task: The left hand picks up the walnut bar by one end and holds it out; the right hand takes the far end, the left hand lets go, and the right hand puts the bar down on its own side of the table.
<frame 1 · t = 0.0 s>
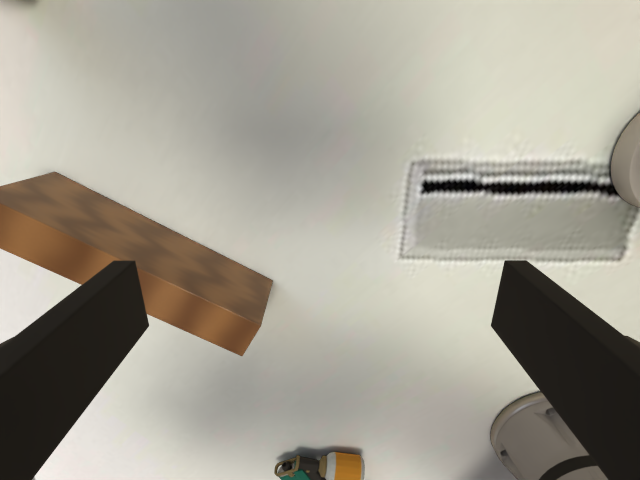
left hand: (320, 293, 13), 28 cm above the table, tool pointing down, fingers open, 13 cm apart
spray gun: (330, 477, 57), on the table
bar: (163, 244, 42), on the table
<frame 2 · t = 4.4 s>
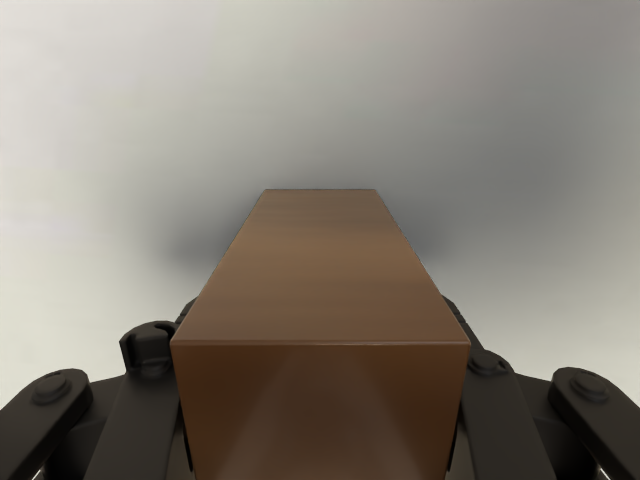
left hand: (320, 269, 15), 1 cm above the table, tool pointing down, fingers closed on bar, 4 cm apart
bar: (320, 437, 19), on the table, touching left hand
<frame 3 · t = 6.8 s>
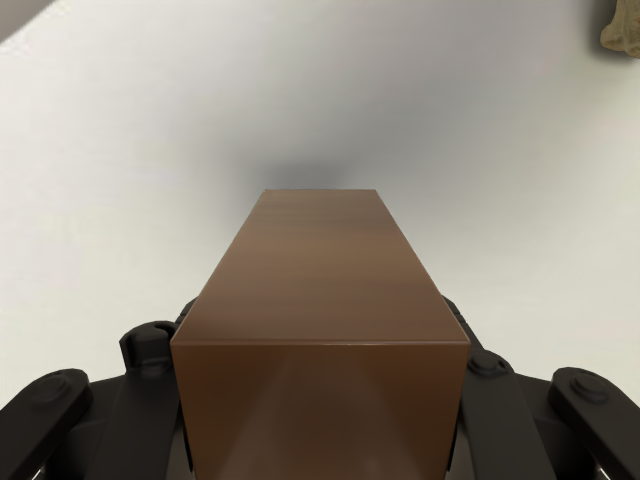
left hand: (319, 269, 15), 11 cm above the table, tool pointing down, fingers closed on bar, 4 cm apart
bar: (320, 437, 19), point 11 cm above the table, touching left hand
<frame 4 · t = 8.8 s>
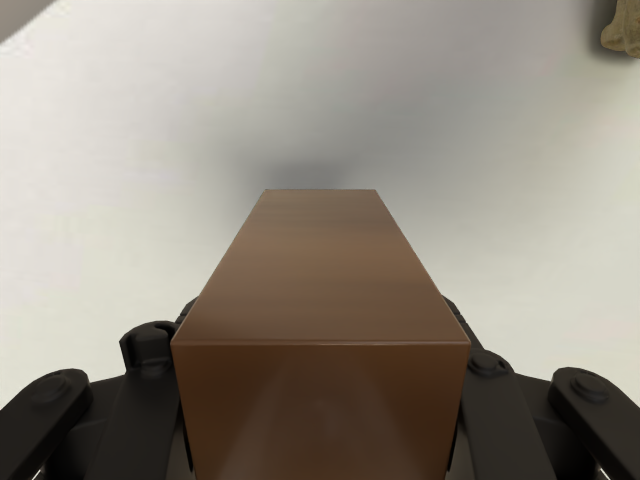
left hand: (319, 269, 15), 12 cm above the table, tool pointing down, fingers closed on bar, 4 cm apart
bar: (319, 436, 19), point 11 cm above the table, touching left hand, right hand
when the left hand's fingers open (12 cm above the table, at t = 9.5 s): bar stays where it is, held by the right hand.
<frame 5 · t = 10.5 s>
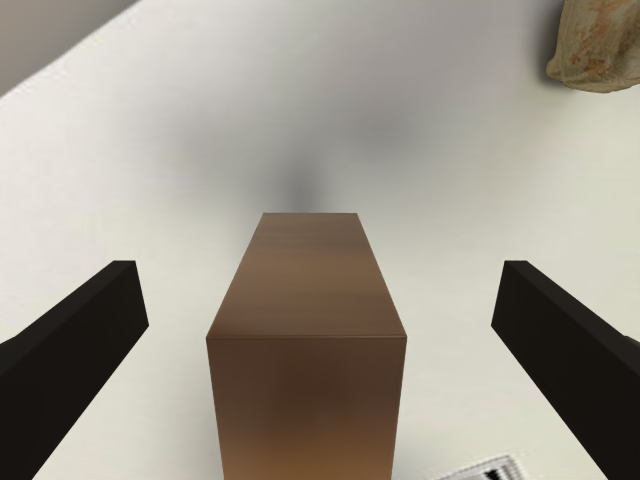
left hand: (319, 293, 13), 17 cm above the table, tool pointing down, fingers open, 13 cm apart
sculpture: (575, 38, 25), on the table
bar: (310, 427, 21), point 13 cm above the table, touching right hand
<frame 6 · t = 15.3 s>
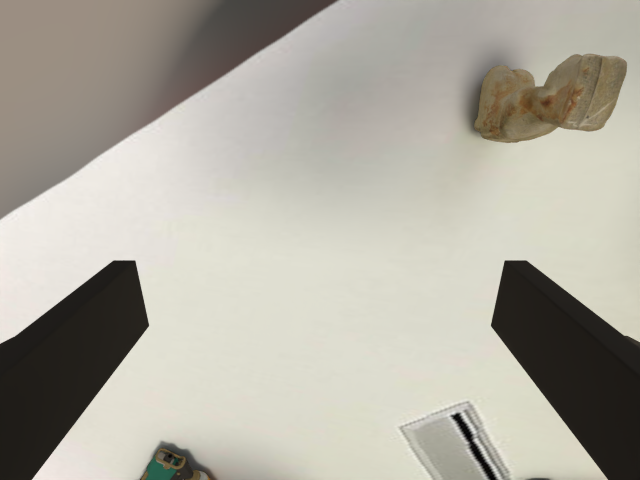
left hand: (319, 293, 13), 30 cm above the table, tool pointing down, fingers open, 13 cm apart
sculpture: (493, 104, 38), on the table
when the right hand's fingers open (2 cm above the table, at t = 22.1 s): bar drops 1 cm, on the table.
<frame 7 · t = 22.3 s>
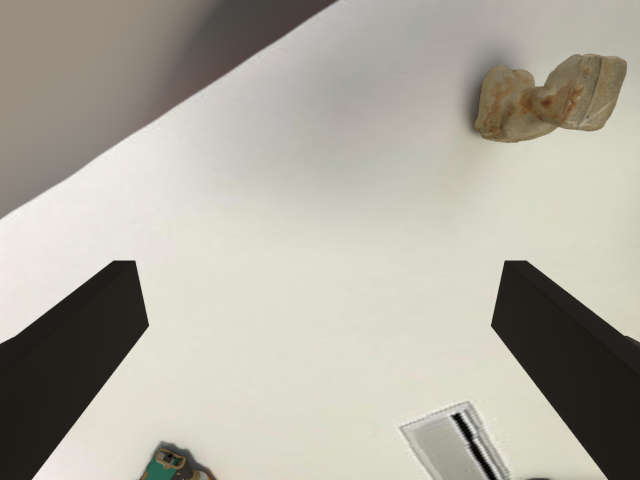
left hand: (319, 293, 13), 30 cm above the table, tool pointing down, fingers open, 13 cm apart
sculpture: (493, 104, 38), on the table
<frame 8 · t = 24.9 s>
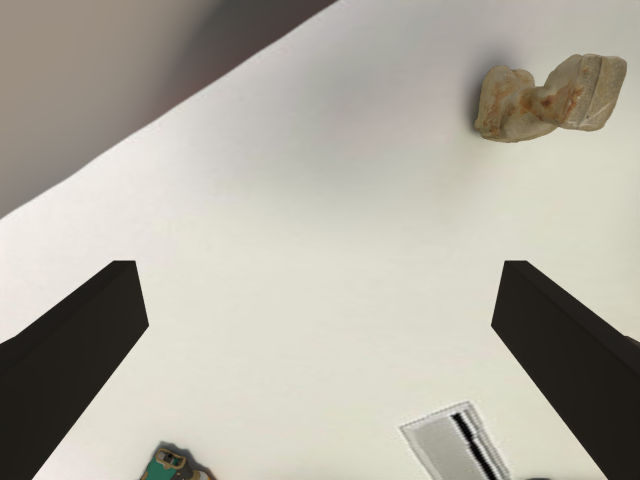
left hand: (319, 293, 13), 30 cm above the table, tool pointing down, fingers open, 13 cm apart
sculpture: (493, 104, 38), on the table
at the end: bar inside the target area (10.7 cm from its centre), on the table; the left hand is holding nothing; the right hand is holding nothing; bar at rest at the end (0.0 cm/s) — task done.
